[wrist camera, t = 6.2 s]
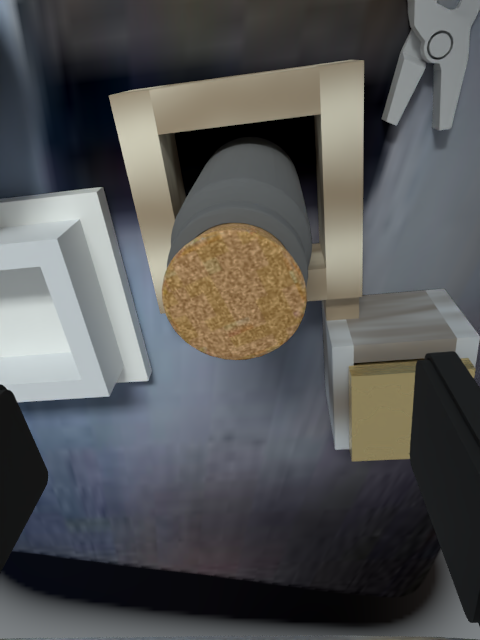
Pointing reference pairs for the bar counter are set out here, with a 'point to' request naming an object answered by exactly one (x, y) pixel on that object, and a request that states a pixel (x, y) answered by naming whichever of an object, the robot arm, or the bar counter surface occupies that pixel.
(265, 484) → the bar counter surface
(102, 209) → the cradle
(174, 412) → the bar counter surface
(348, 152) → the socket block
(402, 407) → the button
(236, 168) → the bottle
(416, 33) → the pliers
